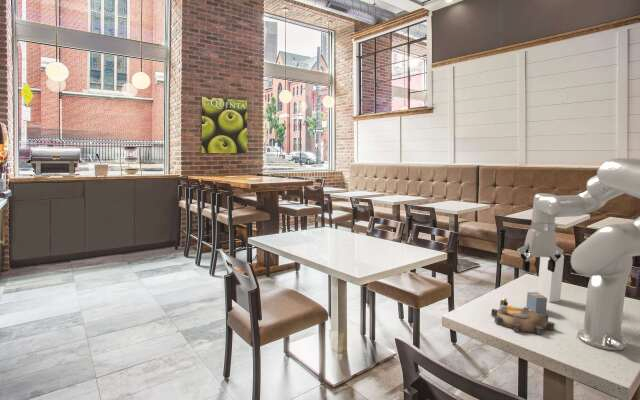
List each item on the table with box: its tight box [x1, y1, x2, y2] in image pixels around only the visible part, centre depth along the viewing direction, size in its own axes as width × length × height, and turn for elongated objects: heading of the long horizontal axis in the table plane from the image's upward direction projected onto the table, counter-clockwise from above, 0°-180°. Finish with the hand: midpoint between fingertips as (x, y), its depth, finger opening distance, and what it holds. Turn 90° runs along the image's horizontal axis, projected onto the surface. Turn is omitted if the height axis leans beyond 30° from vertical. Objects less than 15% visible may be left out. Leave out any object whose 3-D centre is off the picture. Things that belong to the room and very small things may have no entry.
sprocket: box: [490, 304, 555, 335], centre depth 137 cm, size 20×20×4 cm
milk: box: [536, 250, 565, 303], centre depth 159 cm, size 6×6×22 cm
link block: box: [525, 291, 548, 314], centre depth 149 cm, size 6×4×6 cm, turn 2°
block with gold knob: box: [499, 298, 509, 306], centre depth 150 cm, size 2×2×4 cm
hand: (538, 270), depth 148 cm, fingers open, 9 cm apart
